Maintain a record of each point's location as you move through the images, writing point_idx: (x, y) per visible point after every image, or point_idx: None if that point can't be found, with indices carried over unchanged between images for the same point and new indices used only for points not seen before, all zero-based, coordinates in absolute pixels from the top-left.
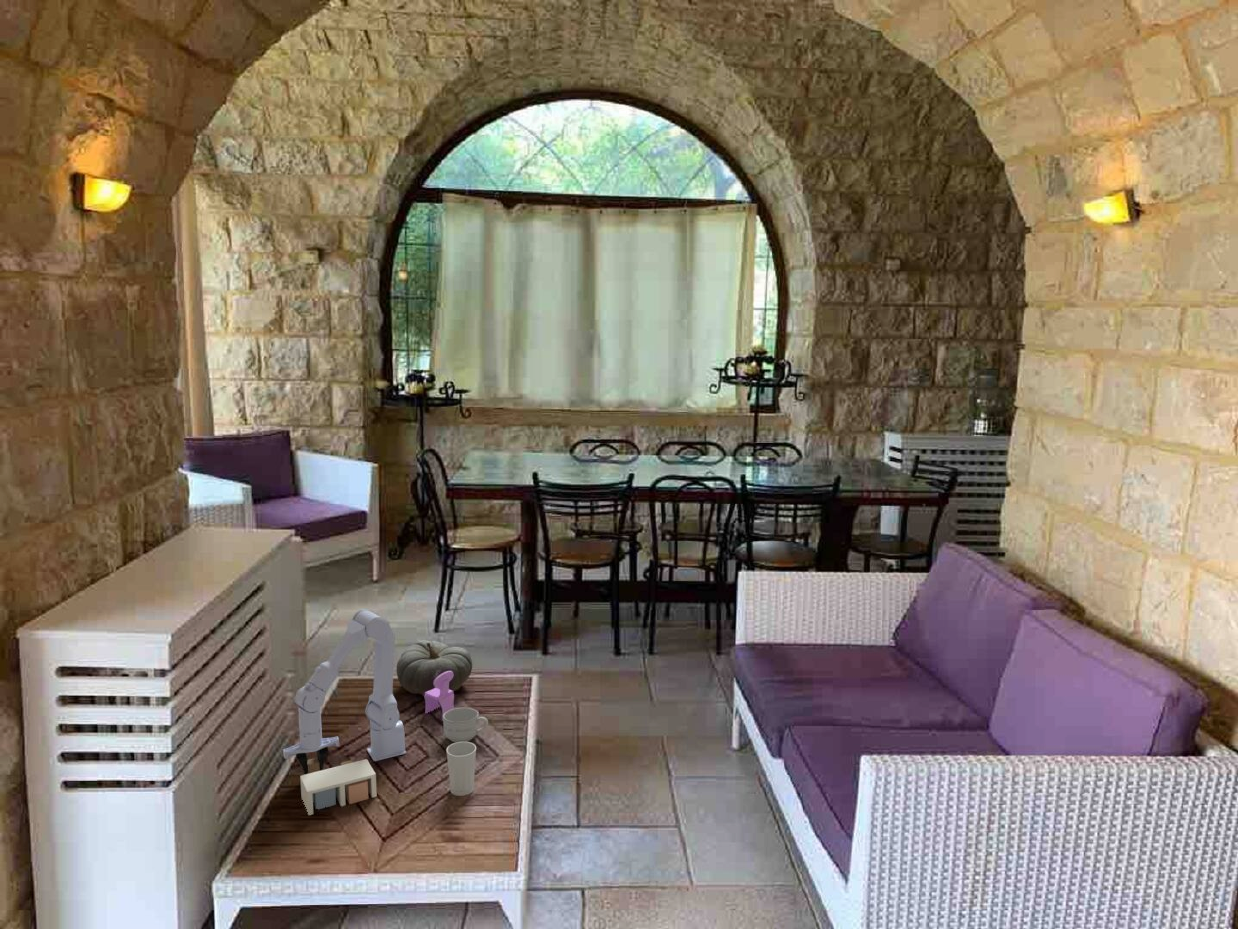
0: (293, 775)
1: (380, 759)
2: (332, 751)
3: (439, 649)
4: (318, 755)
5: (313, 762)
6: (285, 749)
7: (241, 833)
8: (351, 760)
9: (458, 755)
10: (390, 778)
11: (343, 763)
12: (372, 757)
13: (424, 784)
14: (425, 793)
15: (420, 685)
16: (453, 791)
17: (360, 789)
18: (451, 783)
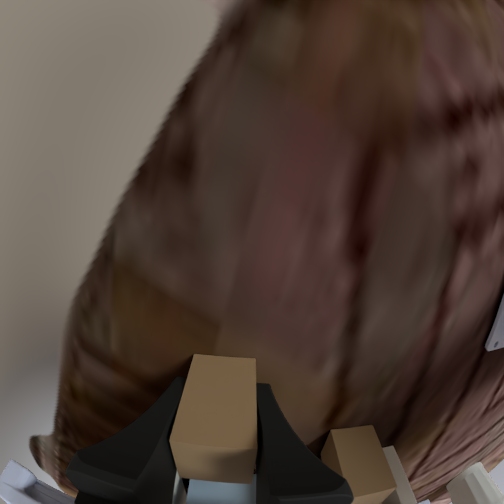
0: (133, 278)
1: (498, 347)
2: (420, 122)
3: None
4: (260, 497)
5: (218, 474)
6: (5, 498)
7: (39, 446)
8: (392, 490)
9: (497, 498)
10: (437, 441)
11: (352, 502)
12: (496, 328)
13: (451, 464)
14: (427, 485)
15: None
16: (448, 490)
17: None
18: (454, 497)
